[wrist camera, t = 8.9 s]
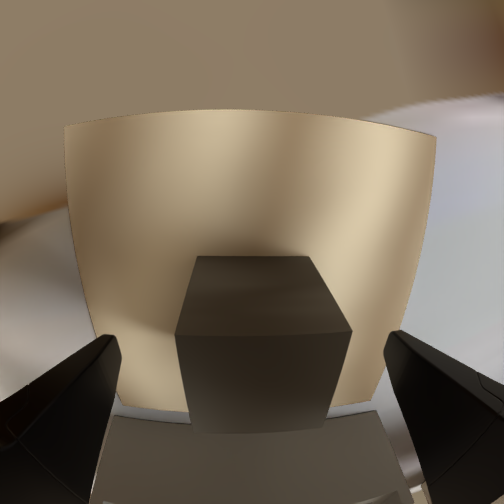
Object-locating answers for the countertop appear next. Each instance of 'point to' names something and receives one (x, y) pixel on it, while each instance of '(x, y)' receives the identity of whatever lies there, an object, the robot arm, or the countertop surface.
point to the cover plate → (247, 257)
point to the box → (250, 465)
